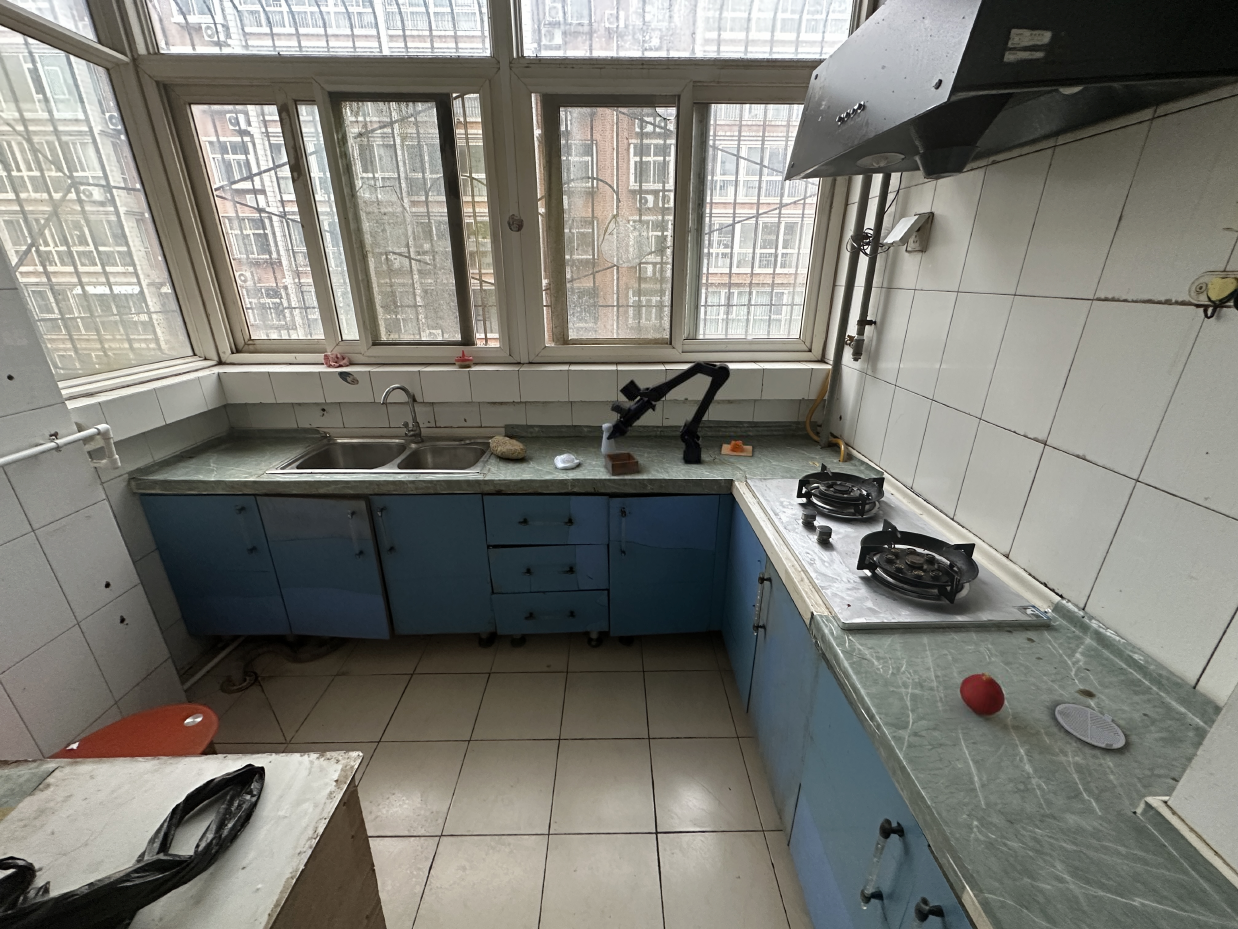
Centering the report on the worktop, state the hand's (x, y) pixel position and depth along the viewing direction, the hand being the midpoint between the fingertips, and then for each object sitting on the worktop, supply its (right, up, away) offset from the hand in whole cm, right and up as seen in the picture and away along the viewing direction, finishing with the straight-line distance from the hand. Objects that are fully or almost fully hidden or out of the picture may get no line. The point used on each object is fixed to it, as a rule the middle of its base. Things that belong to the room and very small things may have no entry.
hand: (609, 435), depth 196 cm
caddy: (+4, -13, -11) cm, 17 cm away
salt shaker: (-1, -8, +3) cm, 9 cm away
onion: (+63, -52, -114) cm, 140 cm away
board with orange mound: (+52, -6, +7) cm, 53 cm away
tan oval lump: (-41, -8, +4) cm, 42 cm away
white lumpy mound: (-16, -12, -6) cm, 21 cm away
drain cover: (+78, -53, -117) cm, 150 cm away
